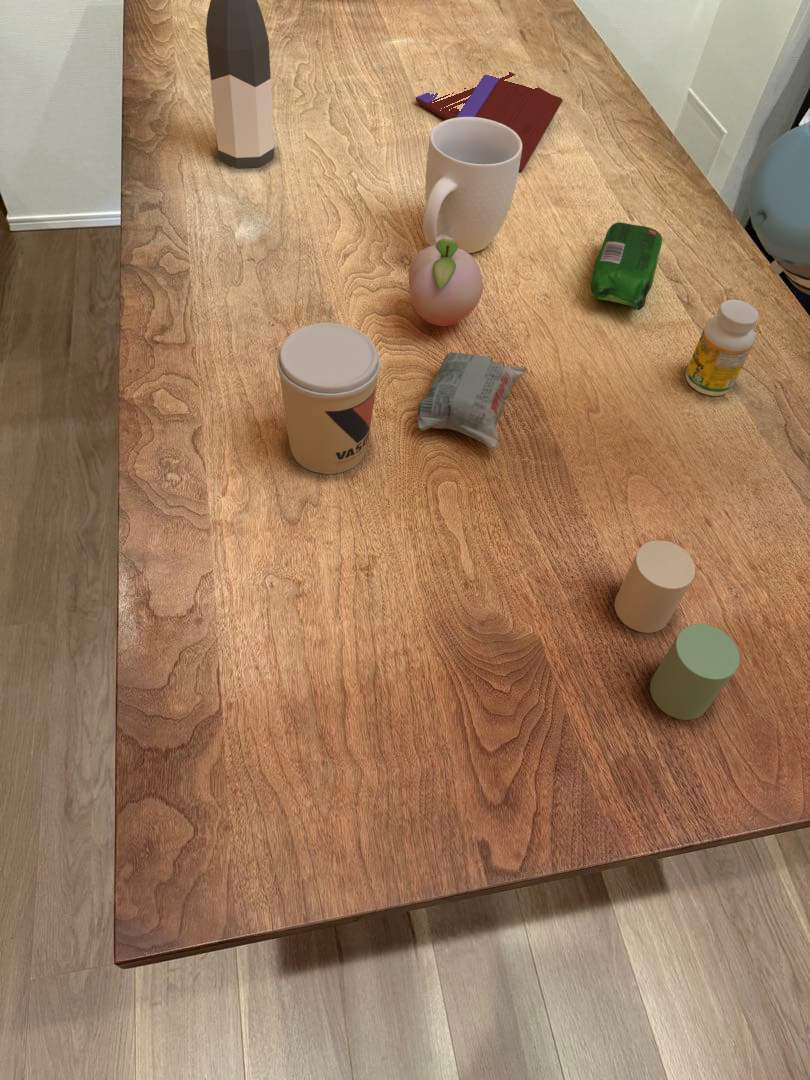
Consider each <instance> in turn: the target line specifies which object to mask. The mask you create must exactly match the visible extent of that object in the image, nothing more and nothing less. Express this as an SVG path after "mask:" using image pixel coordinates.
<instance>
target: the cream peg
mask: <svg viewBox="0 0 810 1080" xmlns="http://www.w3.org/2000/svg"><path fill="white" fill-rule="evenodd" d="M695 575H696V564H695V562H694V560H693V557H692V556H691V555H690V554H689V552H687V550H685V549H684V548H683V547H681V546H680V545H678V544H676V543H674V542H671V541H668V540H651V541H648V542H646V543H644V544H642V545H641V546H640V547H639V548H638V550H637V552H636V554H635V556H634V558H633V560H632V562H631V565H630V567H629V569H628V571H627V573H626V575H625V577H624V579H623V582H622V584H621V585H620V588H619V590H618V592H617V594H616V596H615V599H614V610H615V613H616V615H617V618H618V619H619V620H620V621H621V622H622V623H623V624H624V625H625V626H626V627H628V628H629V629H631V630H633V631H636V632H639V633H642V634H643V633H644V634H651V633H657V632H659V631H661V630H663V629H664V628H665V627H666V626H667V625H668V623H669V622H670V620H671V618H672V616H673V615H674V613H675V611H676V609H678V606H679V605H680V603H681V601H682V599H683V597H684V596H685V595H686V592H687V591H688V589H689V587H690V585H691V584H692V581H693V580H694V578H695Z"/></svg>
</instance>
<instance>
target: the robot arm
mask: <svg viewBox="0 0 810 1080" xmlns="http://www.w3.org/2000/svg"><path fill="white" fill-rule="evenodd" d="M747 187H748V188H747V202H746V203H747V210H748V215H749V218H750V224H751V227H752V229H753V230H754V231H755V234H756V237H757V238H758V240H759V242H760V243H761V246H762V247H763V249H764V250H765V251H766V253H767V254H768V255H770V256H771V257H772V259H774V260H773V261H771V263H770V264H769V270H770V271H771V273H772V274H773V275H775V276H779V275H780V274H782V273H784V275H785V277H786V278H787V279H788V280H789V282H790V283H791V284H792V285H793V286H794V287H795V288H796V289H798V290H799V291H801V292H802V293H803V294H806V295H809V296H810V122H806V123H802V124H801V125H798V126H796V127H794V128H793V127H792V129H790V130H787V131H786V132H785V133H783V134H782V135H781V136H779V137H778V138H776V140H775V141H773V142H772V143H771V144H770V145H769V146H768V147H767V148H766V150H764V151H763V153H762V155H761V156H760V157H759V159H758V160H757V162H756V164H755V166H754V168H753V170H752V173H751V176H750V179H749V183H748V186H747Z"/></svg>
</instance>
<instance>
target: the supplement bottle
mask: <svg viewBox="0 0 810 1080" xmlns="http://www.w3.org/2000/svg"><path fill="white" fill-rule="evenodd" d="M758 319H759V312H758V310H757V309H756V308H755V306H753V305H751V304H750V303H748V302H746V301H743V300H739V299H729V300H724V301H723V302H722V303H721V304H720V306H719V308H718V310H717V312H716V315H715V316H713V317H711V318H710V319H708V321H707V322H706V323H705V325H704V327H703V329H702V332H701V334H700V337H699V338H698V341H697V344H696V346H695V348H694V351H693V352H692V353H693V354H692V355H691V358H690V360H689V363H688V364H687V368H686V370H685V378H686V381H687V383H688V384H689V385H690V387H692V388H693V389H694V390H696V391H697V392H699V393H700V394H703V395H706V396H710V397H711V396H713V397H717V396H718V397H719V396H722V395H725V394H727V393H729V392H730V391H731V390H732V388H733V387H734V385H735V383H736V381H737V379H738V377H739V375H740V372H741V371H742V369H743V366H744V364H745V363H746V360H747V358H748V356H749V355H750V352H751V350H752V348H753V346H754V344H755V340H756V332H755V331H754V330H755V329H754V328H755V327H756V324H757V322H758Z"/></svg>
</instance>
